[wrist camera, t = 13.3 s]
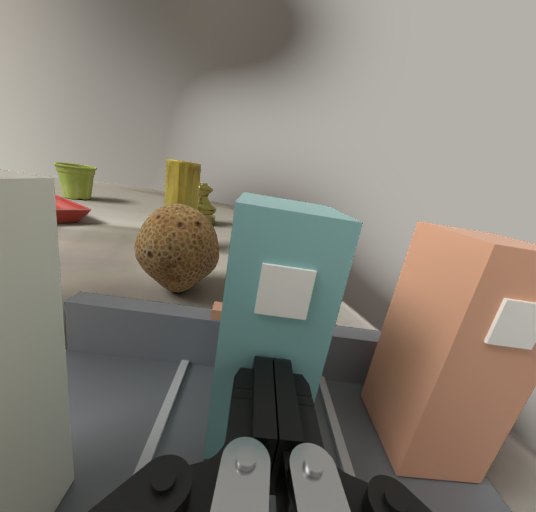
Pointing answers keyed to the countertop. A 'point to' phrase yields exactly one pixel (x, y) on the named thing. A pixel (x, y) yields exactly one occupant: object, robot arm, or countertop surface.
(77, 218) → the plant saucer
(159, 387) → the grey divided tray
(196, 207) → the vase
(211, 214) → the olive glossy tiered piece
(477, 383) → the key terracotta
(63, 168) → the plant pot
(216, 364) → the key teal
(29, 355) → the key cream
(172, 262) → the natural sponge
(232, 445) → the robot arm
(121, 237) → the countertop surface
